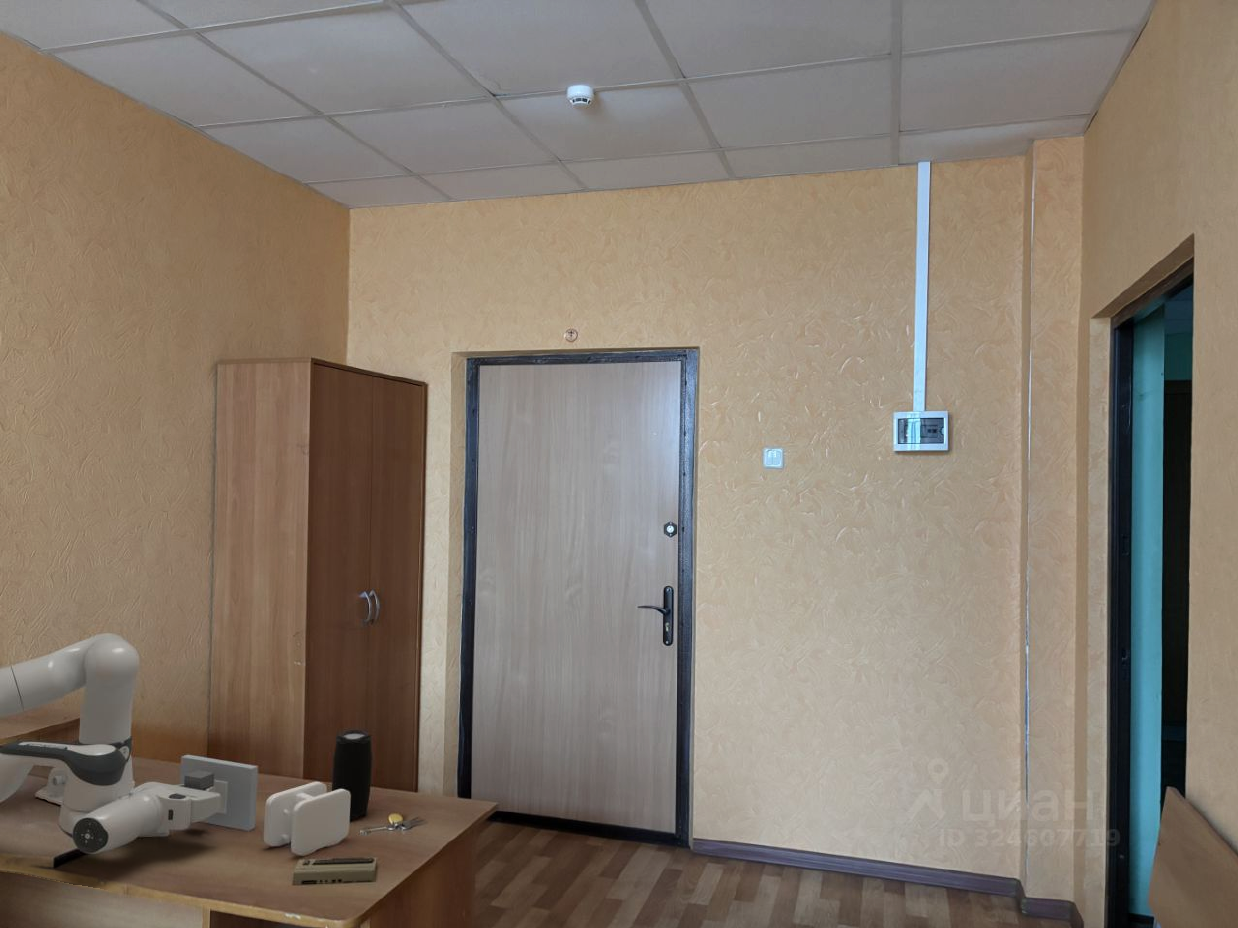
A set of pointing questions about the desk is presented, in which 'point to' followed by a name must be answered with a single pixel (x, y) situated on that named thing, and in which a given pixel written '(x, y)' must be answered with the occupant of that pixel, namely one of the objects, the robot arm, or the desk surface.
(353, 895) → the desk surface
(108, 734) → the robot arm
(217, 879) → the desk surface
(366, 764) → the portable speaker
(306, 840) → the organizer
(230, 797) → the outlet plate
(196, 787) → the block
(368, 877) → the computer
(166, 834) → the white rod
